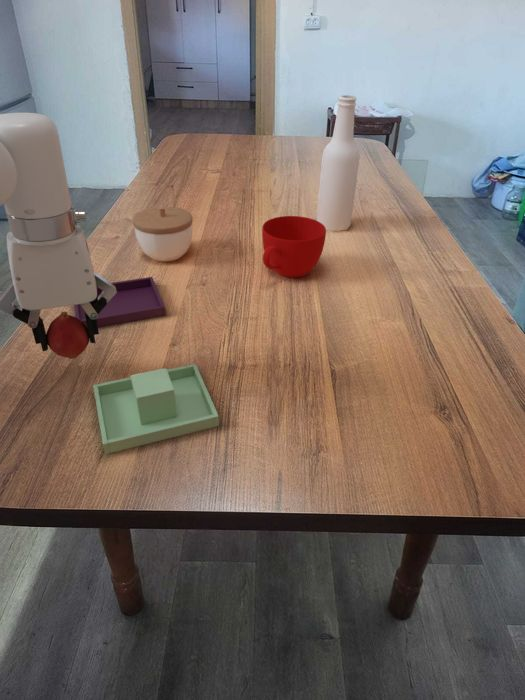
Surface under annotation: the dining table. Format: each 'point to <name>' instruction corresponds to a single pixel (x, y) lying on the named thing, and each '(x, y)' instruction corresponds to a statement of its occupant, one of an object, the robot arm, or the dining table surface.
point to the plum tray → (128, 303)
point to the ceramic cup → (292, 245)
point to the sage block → (154, 396)
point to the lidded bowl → (163, 232)
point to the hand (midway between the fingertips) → (68, 341)
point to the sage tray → (127, 431)
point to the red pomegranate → (67, 336)
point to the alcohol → (339, 170)
